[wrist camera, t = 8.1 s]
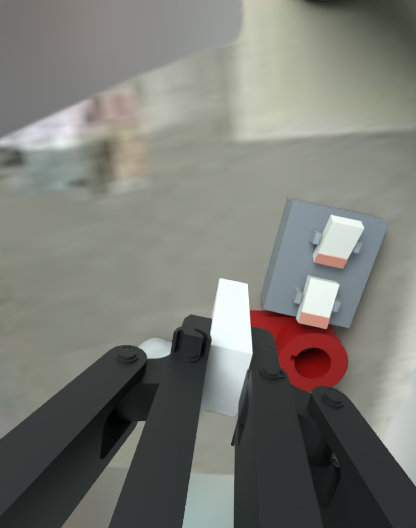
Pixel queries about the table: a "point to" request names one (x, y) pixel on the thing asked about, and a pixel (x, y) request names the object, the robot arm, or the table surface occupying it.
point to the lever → (298, 339)
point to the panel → (302, 264)
